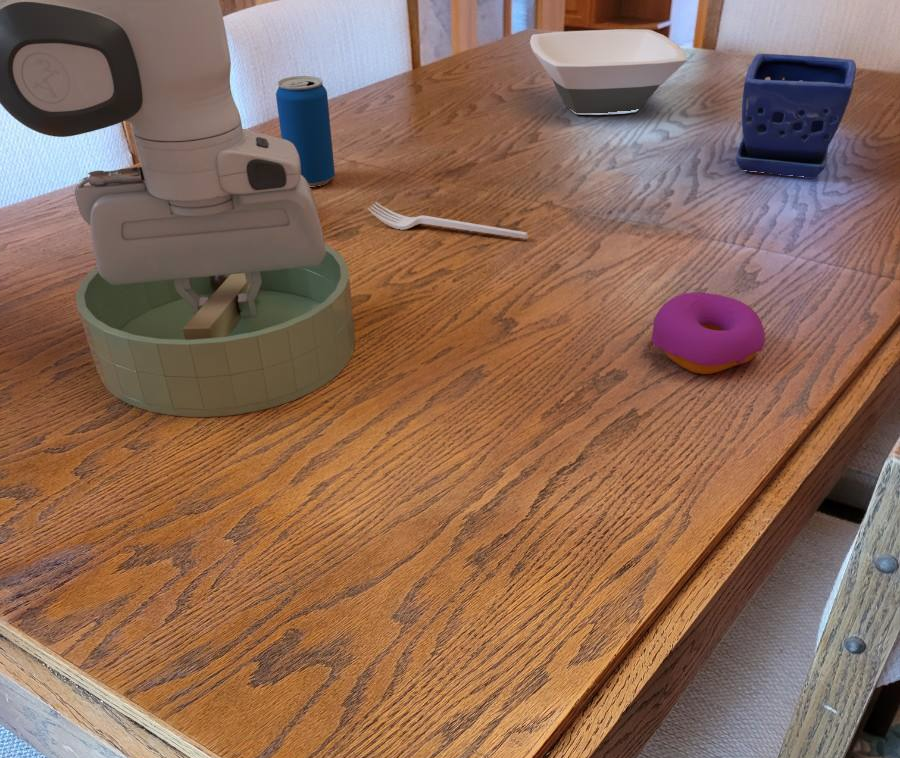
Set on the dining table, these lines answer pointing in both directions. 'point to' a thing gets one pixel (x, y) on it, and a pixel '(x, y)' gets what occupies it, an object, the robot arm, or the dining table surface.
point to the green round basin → (220, 342)
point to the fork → (437, 223)
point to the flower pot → (792, 112)
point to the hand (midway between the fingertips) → (226, 317)
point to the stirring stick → (219, 311)
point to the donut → (707, 332)
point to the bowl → (607, 66)
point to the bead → (217, 281)
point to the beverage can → (307, 125)
